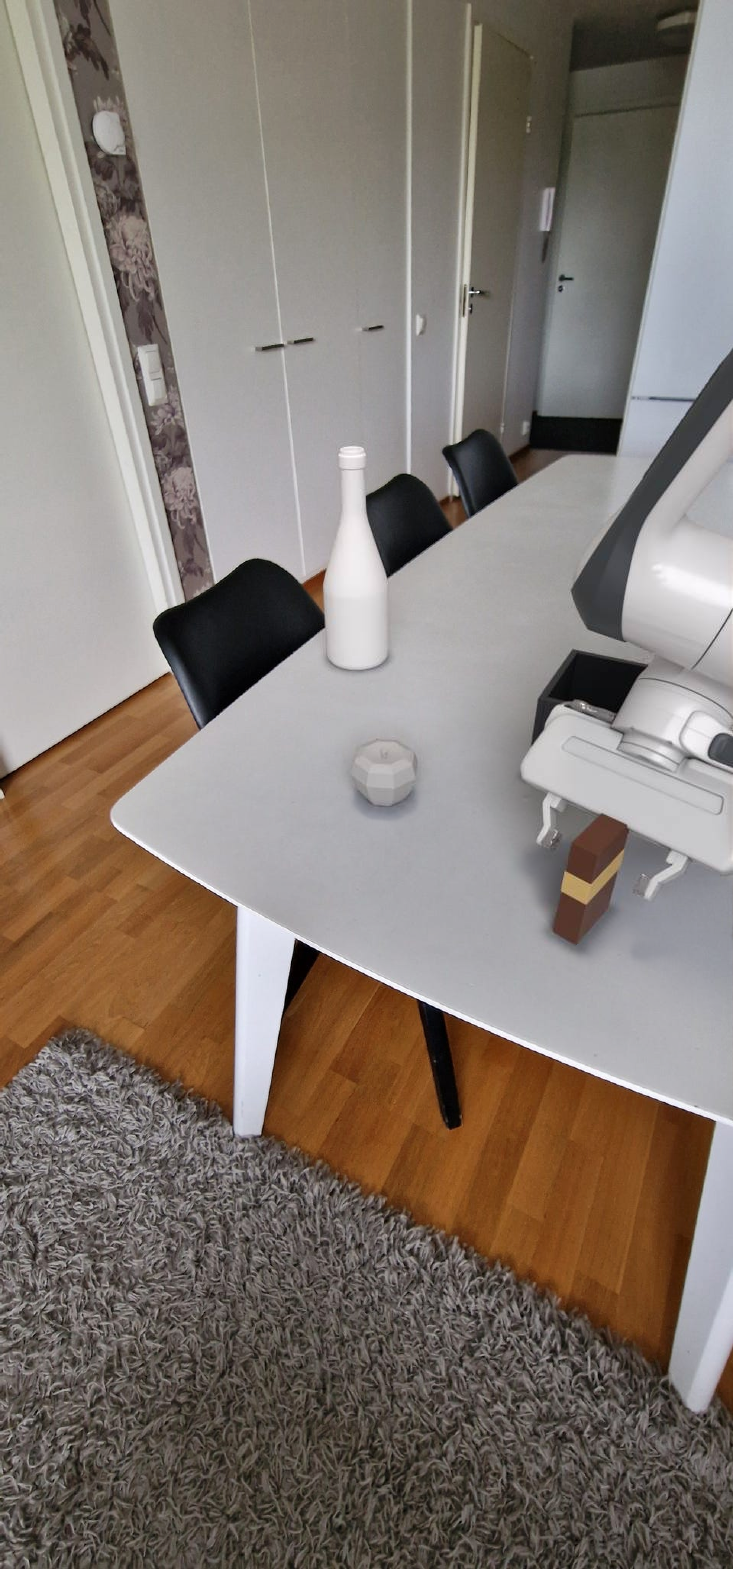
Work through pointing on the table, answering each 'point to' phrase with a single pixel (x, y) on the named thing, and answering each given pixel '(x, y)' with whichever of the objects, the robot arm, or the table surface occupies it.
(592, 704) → the waste bin
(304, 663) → the table surface
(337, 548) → the wine bottle
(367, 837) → the table surface
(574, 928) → the chocolate bar
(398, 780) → the apple
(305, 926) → the table surface
